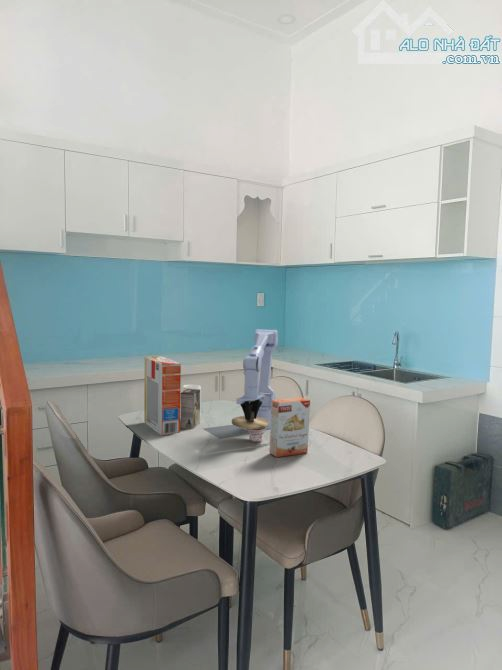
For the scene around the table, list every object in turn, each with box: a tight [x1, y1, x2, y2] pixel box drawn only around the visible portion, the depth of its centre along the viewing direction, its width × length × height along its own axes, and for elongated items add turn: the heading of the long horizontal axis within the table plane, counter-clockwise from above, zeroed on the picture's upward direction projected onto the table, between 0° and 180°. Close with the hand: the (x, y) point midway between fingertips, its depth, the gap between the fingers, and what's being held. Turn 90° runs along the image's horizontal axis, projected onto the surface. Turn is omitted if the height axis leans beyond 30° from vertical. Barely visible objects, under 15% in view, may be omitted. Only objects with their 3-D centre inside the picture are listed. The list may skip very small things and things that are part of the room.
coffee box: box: [180, 389, 201, 430], centre depth 228 cm, size 9×6×16 cm
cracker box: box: [269, 397, 311, 458], centre depth 194 cm, size 14×6×21 cm, turn 117°
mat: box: [202, 424, 249, 439], centre depth 221 cm, size 16×16×1 cm
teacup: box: [241, 427, 270, 447], centre depth 208 cm, size 12×12×6 cm
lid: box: [231, 411, 269, 430], centre depth 207 cm, size 15×15×5 cm
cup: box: [182, 384, 202, 413], centre depth 239 cm, size 8×8×16 cm
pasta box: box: [143, 355, 182, 437], centre depth 224 cm, size 23×8×30 cm, turn 30°
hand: (250, 419), depth 207 cm, fingers closed on lid, 3 cm apart
